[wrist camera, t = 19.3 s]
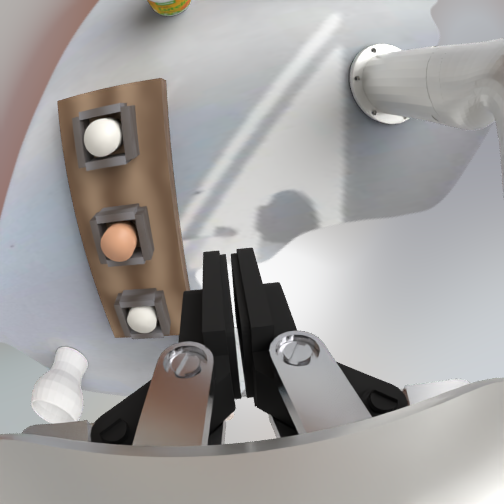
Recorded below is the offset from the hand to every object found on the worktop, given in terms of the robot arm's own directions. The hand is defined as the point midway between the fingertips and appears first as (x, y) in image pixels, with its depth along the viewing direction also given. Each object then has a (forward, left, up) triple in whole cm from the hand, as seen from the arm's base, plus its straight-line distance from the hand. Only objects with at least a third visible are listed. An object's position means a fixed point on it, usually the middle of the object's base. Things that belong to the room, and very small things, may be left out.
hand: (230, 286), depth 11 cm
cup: (+35, +38, -32) cm, 61 cm away
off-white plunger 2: (+13, +22, -28) cm, 38 cm away
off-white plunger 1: (+13, -4, -28) cm, 31 cm away
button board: (+13, +9, -32) cm, 36 cm away
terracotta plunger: (+13, +9, -27) cm, 31 cm away
